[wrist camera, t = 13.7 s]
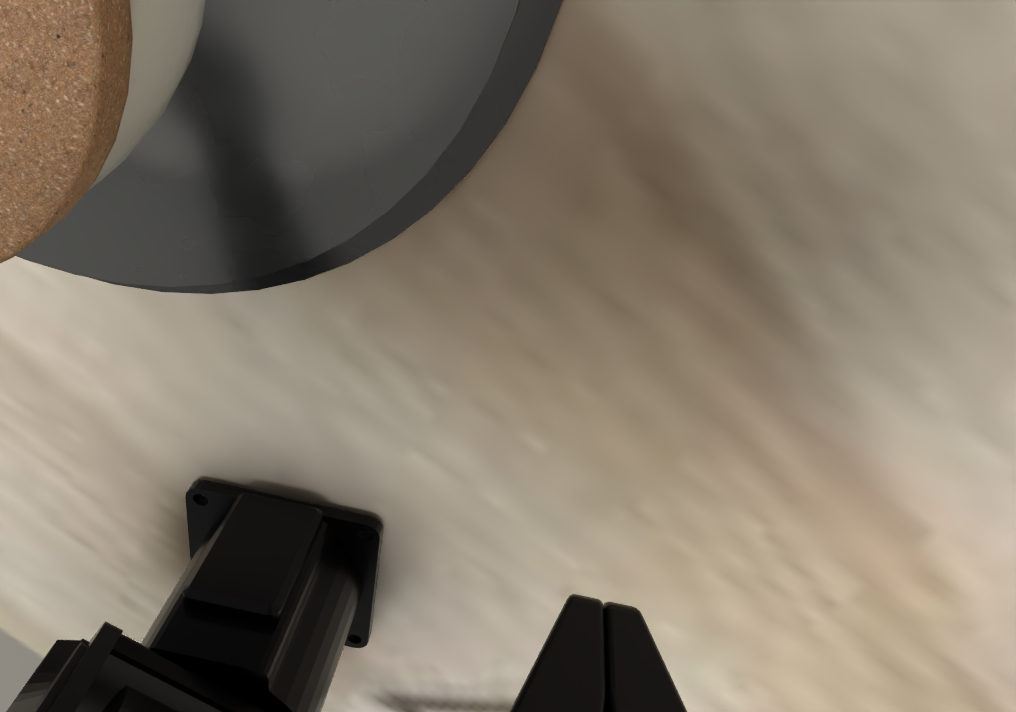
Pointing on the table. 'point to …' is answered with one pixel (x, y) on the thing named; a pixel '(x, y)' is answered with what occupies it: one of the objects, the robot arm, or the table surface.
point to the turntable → (283, 138)
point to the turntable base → (446, 172)
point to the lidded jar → (80, 98)
